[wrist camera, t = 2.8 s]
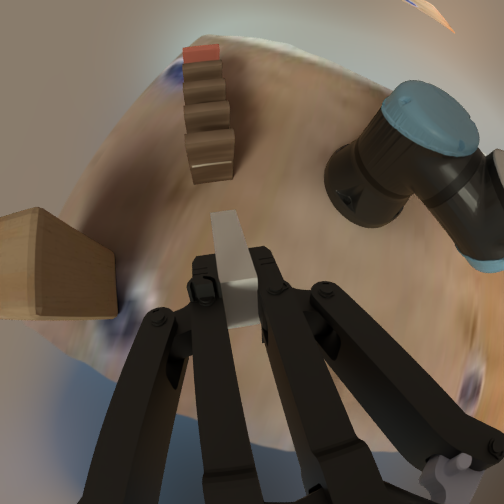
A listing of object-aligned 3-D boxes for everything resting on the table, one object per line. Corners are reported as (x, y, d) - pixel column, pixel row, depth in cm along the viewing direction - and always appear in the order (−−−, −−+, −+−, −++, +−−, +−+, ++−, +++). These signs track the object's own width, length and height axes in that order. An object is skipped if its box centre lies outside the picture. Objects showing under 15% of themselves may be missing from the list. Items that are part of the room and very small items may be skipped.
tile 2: (228, 153, 42) (230, 109, 31) (191, 157, 41) (183, 114, 31) (226, 144, 42) (228, 100, 32) (190, 149, 42) (183, 105, 31)
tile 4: (221, 109, 44) (222, 65, 33) (188, 113, 43) (182, 69, 33) (220, 103, 44) (221, 59, 34) (188, 107, 44) (182, 63, 33)
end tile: (219, 91, 45) (219, 48, 34) (187, 95, 44) (182, 52, 34) (218, 86, 45) (218, 43, 35) (187, 89, 45) (182, 47, 34)
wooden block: (64, 257, 36) (-20, 220, 16) (116, 251, 37) (40, 201, 18) (67, 320, 34) (-24, 317, 14) (121, 318, 35) (36, 319, 16)
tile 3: (224, 130, 43) (225, 85, 32) (189, 134, 42) (182, 89, 32) (223, 122, 43) (224, 77, 33) (189, 126, 43) (182, 82, 32)
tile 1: (232, 179, 41) (235, 138, 30) (193, 184, 40) (184, 144, 30) (230, 170, 41) (233, 128, 31) (192, 175, 41) (184, 133, 30)
